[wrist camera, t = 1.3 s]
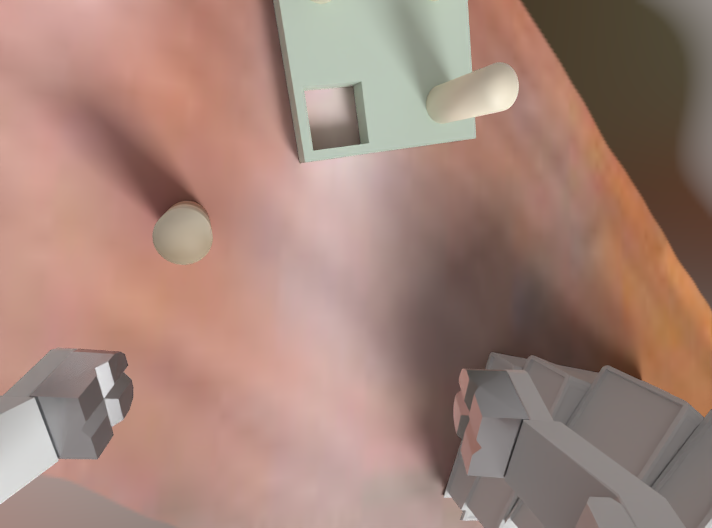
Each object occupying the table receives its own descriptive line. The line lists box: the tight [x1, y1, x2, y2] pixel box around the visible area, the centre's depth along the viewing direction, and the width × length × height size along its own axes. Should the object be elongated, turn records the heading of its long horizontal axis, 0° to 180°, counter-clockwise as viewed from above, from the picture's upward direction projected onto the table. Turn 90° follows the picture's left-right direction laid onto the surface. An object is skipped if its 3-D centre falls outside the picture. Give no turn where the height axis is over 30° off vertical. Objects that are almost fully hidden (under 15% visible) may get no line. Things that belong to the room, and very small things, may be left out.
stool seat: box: [273, 0, 519, 163], centre depth 39 cm, size 20×20×12 cm
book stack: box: [444, 352, 712, 528], centre depth 53 cm, size 30×35×26 cm
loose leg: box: [153, 201, 213, 265], centre depth 36 cm, size 4×4×12 cm
